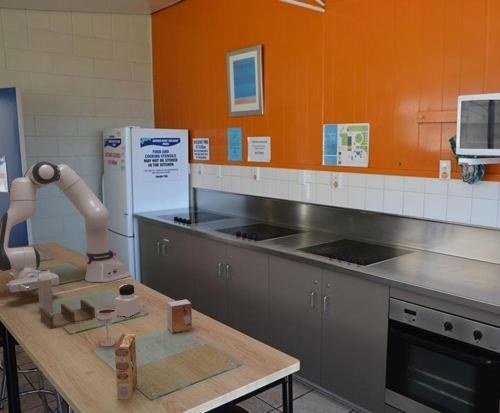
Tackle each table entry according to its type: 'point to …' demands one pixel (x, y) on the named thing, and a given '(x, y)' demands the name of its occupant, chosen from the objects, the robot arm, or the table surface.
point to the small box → (179, 316)
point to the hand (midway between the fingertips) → (39, 287)
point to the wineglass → (107, 321)
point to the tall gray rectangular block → (45, 294)
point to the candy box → (126, 366)
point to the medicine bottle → (127, 301)
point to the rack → (68, 315)
